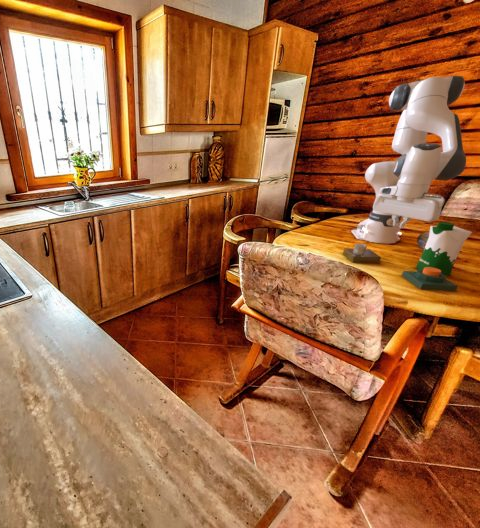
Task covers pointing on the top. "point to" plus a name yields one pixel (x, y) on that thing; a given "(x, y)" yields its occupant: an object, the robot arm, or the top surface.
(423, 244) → the tin
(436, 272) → the button
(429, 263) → the milk carton
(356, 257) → the panel
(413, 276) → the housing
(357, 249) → the knob
